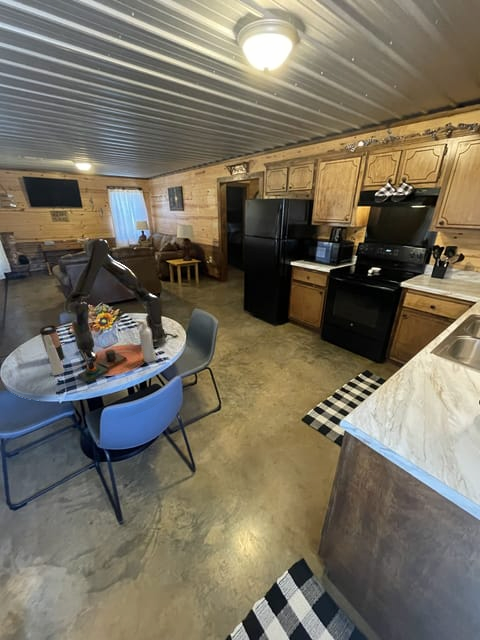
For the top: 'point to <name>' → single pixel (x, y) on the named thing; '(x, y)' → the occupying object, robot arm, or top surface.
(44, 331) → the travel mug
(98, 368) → the housing
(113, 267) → the robot arm
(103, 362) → the panel
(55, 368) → the cosmetic bottle
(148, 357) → the fire extinguisher
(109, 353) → the knob
